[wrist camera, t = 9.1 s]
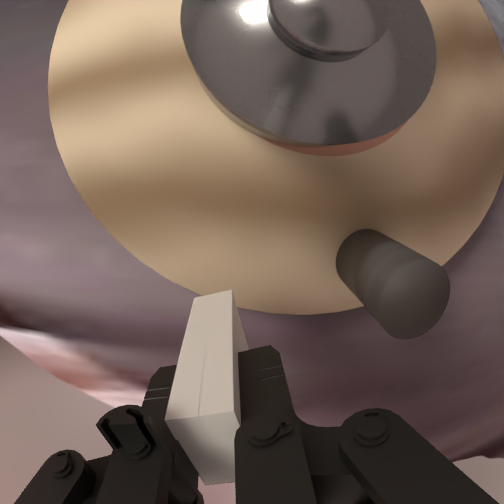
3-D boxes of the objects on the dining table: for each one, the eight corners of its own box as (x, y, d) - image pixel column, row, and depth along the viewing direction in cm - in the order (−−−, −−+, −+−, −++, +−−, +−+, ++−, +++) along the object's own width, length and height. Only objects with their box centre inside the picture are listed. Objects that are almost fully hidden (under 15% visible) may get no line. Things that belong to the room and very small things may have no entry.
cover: (173, -21, 10) (156, -74, 6) (367, -37, 10) (402, -79, 6) (217, 169, 13) (210, 173, 9) (422, 133, 13) (483, 129, 9)
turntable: (58, -42, 10) (11, -90, 3) (419, -79, 10) (461, -119, 3) (135, 340, 17) (97, 422, 11) (507, 240, 17) (576, 270, 11)
